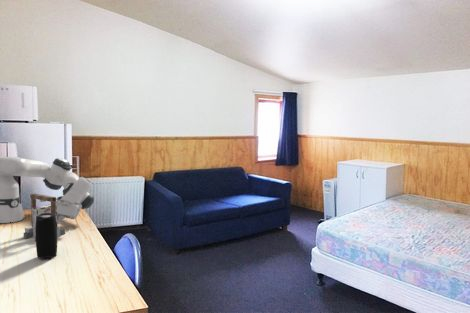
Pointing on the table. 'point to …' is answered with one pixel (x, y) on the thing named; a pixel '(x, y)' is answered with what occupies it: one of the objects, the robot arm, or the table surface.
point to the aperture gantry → (43, 199)
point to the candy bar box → (38, 211)
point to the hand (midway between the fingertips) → (55, 222)
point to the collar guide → (29, 234)
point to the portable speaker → (46, 236)
